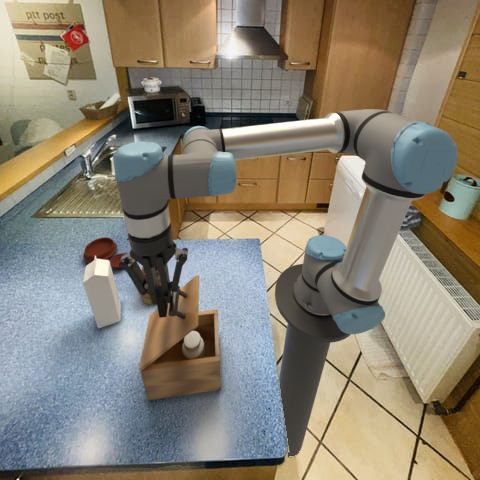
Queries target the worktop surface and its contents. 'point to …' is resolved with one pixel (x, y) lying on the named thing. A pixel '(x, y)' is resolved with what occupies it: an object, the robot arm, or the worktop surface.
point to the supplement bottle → (193, 346)
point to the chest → (186, 365)
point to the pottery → (102, 251)
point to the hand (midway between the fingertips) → (163, 311)
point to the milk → (102, 292)
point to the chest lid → (171, 322)
